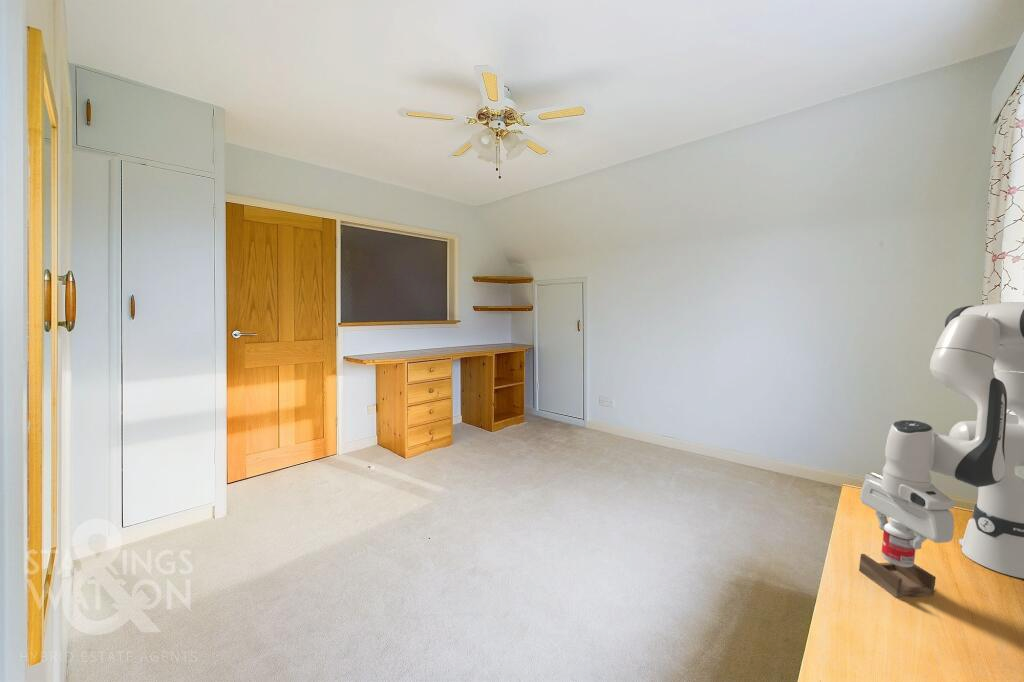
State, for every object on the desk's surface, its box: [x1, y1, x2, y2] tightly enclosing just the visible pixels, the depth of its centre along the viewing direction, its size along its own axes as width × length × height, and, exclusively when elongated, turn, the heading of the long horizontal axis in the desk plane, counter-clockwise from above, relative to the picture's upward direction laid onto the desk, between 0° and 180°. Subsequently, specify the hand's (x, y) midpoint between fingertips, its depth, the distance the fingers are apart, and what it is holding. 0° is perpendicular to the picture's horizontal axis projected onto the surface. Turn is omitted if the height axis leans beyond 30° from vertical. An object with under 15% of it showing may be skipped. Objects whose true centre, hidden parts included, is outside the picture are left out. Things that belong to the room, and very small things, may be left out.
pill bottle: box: [881, 517, 917, 567], centre depth 107 cm, size 6×6×11 cm
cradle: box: [858, 553, 937, 599], centre depth 108 cm, size 10×10×5 cm
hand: (899, 538), depth 107 cm, fingers closed on pill bottle, 6 cm apart
